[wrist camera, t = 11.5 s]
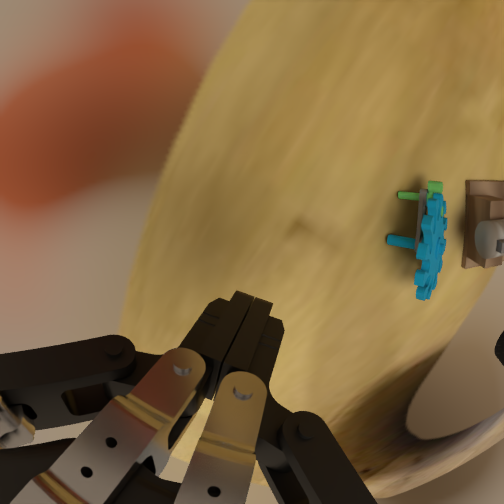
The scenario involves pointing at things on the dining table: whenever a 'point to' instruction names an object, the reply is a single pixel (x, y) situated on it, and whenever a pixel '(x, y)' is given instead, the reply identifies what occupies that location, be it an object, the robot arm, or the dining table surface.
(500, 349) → the travel mug
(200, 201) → the dining table surface
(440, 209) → the gear
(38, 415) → the robot arm
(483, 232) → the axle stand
